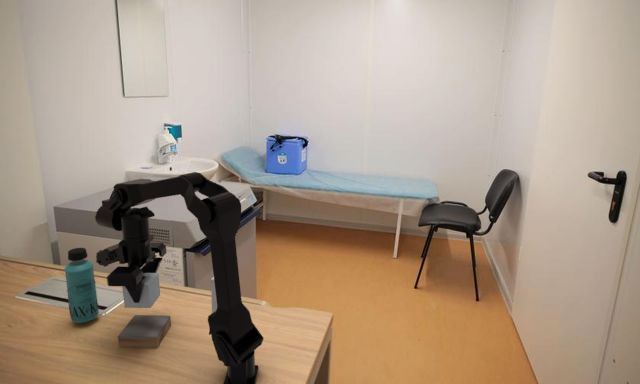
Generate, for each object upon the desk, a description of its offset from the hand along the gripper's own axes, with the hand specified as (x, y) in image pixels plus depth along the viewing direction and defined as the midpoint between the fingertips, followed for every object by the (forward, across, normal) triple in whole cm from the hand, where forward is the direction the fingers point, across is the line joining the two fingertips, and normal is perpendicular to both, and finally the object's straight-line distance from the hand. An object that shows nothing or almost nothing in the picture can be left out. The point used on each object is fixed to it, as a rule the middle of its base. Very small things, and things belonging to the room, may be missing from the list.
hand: (142, 295), depth 95 cm
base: (+11, 0, 0) cm, 11 cm away
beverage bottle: (+11, -6, -18) cm, 22 cm away
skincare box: (+11, -10, +17) cm, 23 cm away
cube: (+2, 0, 0) cm, 2 cm away
